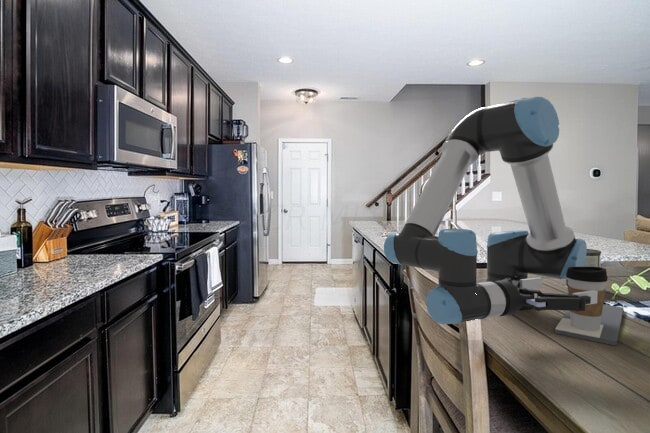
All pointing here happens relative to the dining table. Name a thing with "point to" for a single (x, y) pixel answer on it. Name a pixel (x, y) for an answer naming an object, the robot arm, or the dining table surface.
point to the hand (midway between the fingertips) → (566, 289)
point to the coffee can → (591, 260)
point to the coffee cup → (587, 281)
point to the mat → (604, 335)
